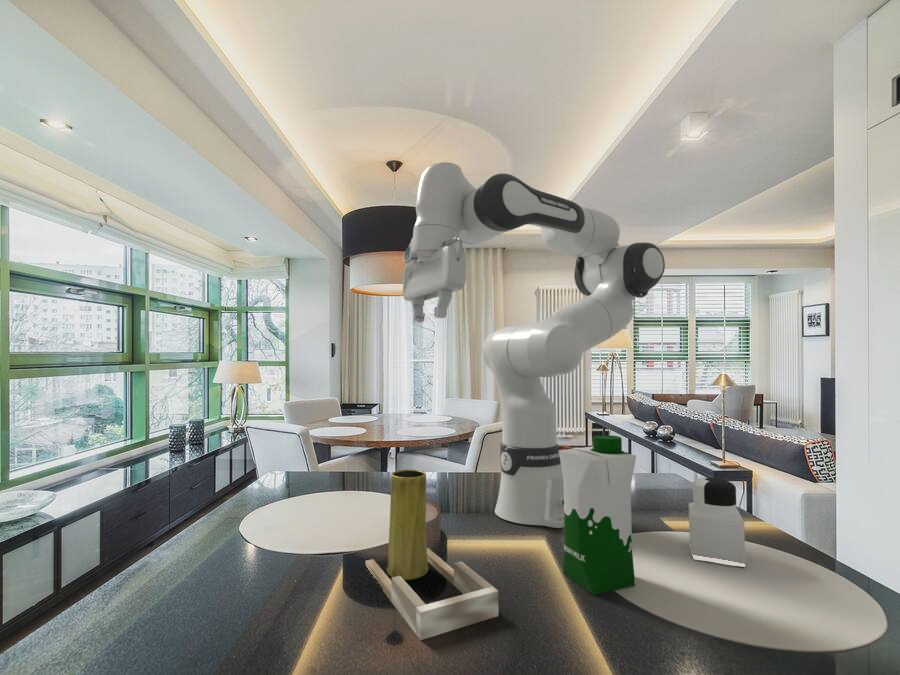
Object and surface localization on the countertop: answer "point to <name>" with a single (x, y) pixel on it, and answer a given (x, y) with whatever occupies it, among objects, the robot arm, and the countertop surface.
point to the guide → (446, 613)
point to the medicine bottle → (716, 521)
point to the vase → (407, 525)
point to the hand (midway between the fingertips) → (428, 320)
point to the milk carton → (598, 515)
